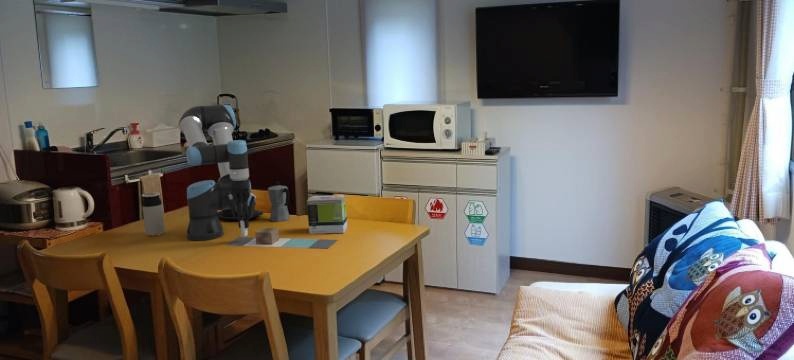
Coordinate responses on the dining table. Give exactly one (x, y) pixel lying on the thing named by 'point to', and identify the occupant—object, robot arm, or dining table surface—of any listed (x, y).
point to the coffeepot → (279, 203)
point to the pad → (300, 243)
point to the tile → (276, 244)
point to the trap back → (240, 241)
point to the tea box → (327, 214)
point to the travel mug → (153, 214)
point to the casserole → (228, 215)
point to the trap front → (323, 244)
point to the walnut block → (267, 236)
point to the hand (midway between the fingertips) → (244, 235)
